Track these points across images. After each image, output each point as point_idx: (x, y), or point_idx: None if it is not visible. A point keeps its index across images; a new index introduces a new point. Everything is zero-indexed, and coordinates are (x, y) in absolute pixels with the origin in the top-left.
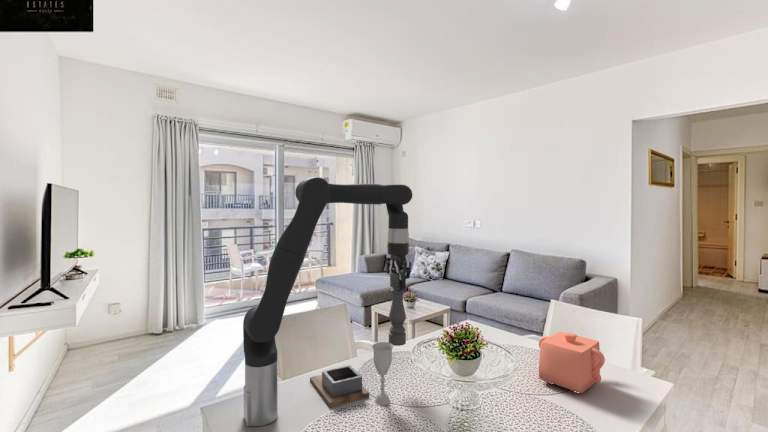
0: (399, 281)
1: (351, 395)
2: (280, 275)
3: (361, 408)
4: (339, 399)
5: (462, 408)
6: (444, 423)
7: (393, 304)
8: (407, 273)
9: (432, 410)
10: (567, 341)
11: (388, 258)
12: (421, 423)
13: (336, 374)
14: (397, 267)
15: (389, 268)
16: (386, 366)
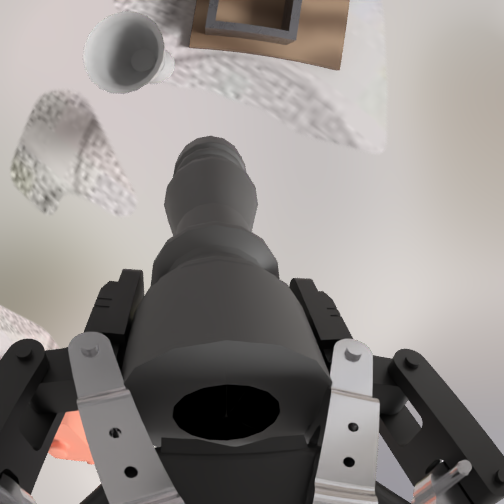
0: (121, 320)
1: (203, 5)
2: None
3: (156, 11)
4: None
5: (49, 202)
6: (25, 138)
7: (206, 197)
8: (40, 428)
9: (67, 144)
10: (57, 441)
11: (480, 501)
12: (43, 98)
13: (289, 2)
14: (99, 468)
15: (375, 409)
16: (111, 57)
